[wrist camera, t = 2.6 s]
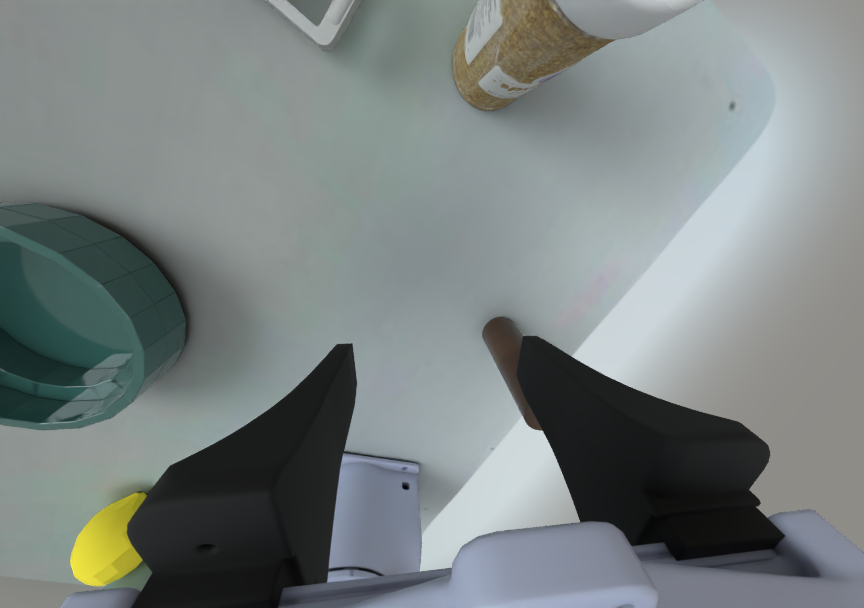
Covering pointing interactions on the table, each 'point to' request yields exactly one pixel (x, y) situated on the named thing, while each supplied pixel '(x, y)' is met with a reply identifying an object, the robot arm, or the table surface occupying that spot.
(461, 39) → the sprinkles bottle
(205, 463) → the robot arm
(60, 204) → the table surface
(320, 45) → the zipper pull
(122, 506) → the lemon
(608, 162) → the table surface
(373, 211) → the table surface
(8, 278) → the bowl
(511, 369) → the brown cylinder
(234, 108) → the table surface
